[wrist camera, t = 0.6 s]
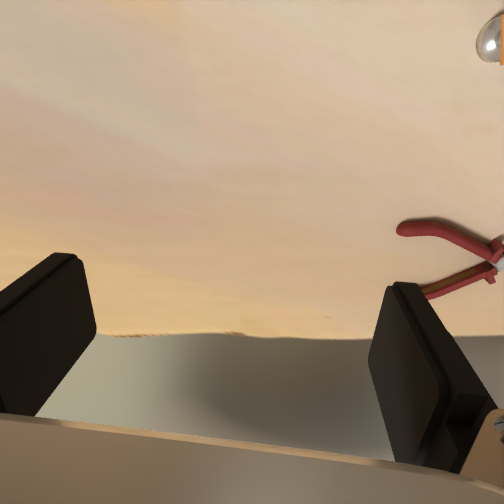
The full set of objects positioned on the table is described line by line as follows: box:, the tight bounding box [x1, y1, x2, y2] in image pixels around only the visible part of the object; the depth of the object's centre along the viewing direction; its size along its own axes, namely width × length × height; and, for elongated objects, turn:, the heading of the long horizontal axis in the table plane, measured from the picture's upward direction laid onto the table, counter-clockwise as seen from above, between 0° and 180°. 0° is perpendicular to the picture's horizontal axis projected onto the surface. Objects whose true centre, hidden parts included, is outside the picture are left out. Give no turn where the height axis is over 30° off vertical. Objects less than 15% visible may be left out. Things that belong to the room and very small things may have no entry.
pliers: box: [396, 221, 504, 300], centre depth 44 cm, size 12×20×3 cm, turn 94°
